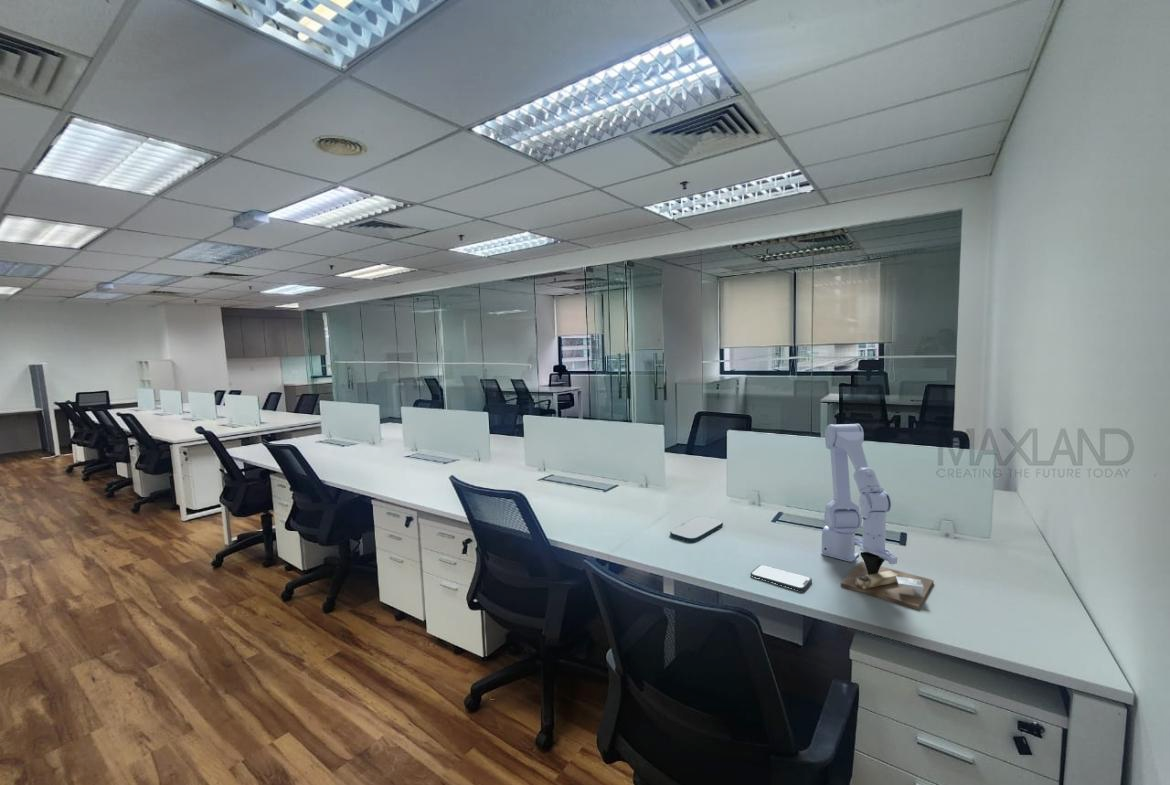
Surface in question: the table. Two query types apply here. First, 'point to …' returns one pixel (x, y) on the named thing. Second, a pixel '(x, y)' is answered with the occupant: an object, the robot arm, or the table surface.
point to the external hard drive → (696, 529)
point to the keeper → (911, 585)
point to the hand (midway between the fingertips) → (872, 577)
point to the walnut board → (889, 587)
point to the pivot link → (876, 579)
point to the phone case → (782, 577)
